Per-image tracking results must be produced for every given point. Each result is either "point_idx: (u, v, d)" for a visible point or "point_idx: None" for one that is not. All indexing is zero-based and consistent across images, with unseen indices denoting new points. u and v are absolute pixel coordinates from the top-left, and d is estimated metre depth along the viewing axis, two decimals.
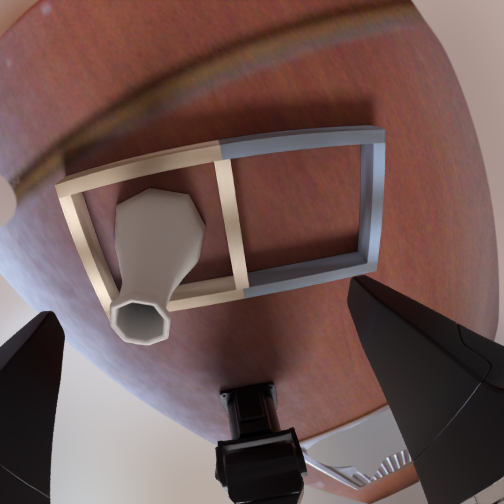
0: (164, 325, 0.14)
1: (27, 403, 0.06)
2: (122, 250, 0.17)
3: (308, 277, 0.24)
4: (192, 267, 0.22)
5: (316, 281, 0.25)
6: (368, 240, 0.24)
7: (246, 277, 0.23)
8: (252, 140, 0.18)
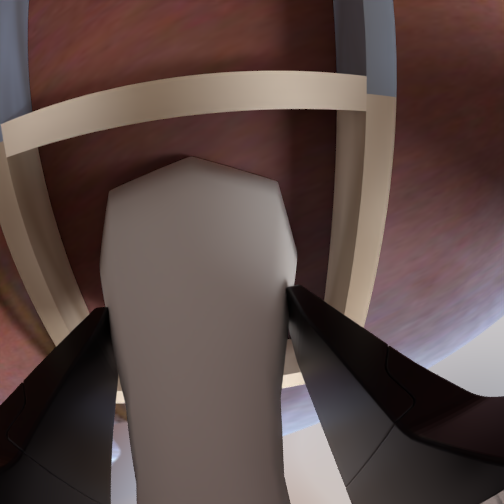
0: None
1: (88, 408, 0.06)
2: None
3: None
4: (274, 213, 0.08)
5: None
6: None
7: (333, 76, 0.07)
8: None
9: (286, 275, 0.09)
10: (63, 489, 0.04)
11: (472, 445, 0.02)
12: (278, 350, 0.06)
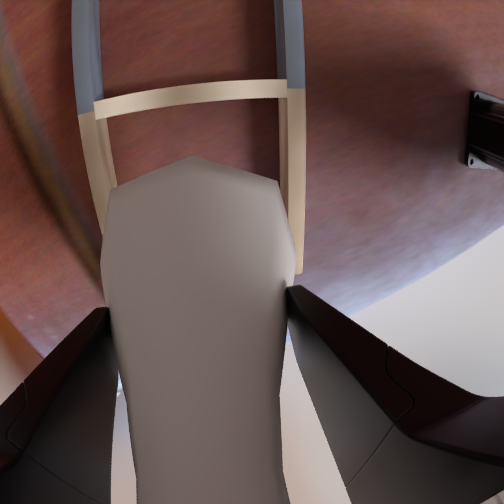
0: None
1: (88, 408, 0.06)
2: None
3: None
4: (273, 212, 0.09)
5: None
6: None
7: (268, 81, 0.14)
8: (75, 79, 0.12)
9: (285, 273, 0.09)
10: (64, 489, 0.04)
11: (472, 446, 0.02)
12: (277, 347, 0.07)
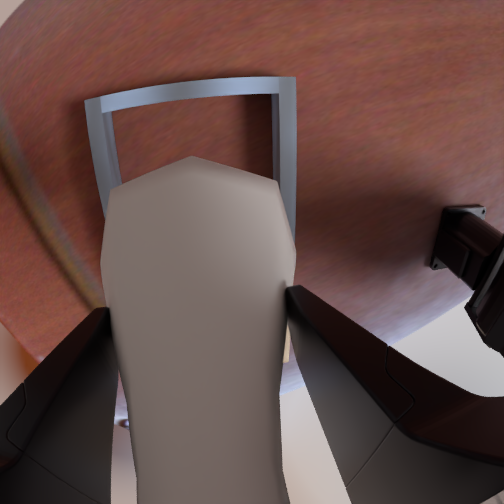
0: None
1: (88, 408, 0.06)
2: None
3: (282, 179, 0.18)
4: (273, 212, 0.09)
5: (291, 168, 0.18)
6: None
7: None
8: None
9: (285, 273, 0.09)
10: (63, 489, 0.04)
11: (472, 445, 0.02)
12: (277, 347, 0.07)
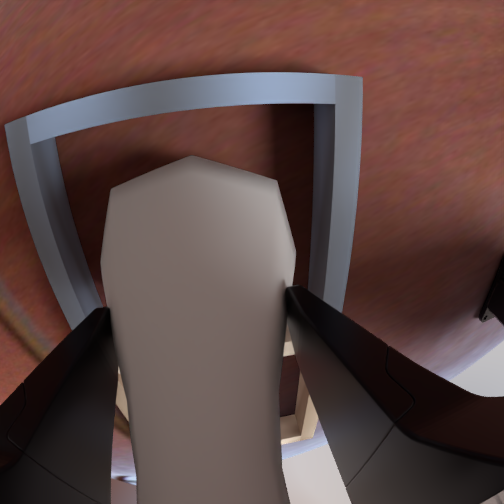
0: None
1: (88, 408, 0.06)
2: None
3: (332, 246, 0.11)
4: (273, 211, 0.09)
5: (347, 229, 0.11)
6: None
7: None
8: None
9: (285, 272, 0.09)
10: (63, 489, 0.04)
11: (472, 446, 0.02)
12: (276, 345, 0.07)
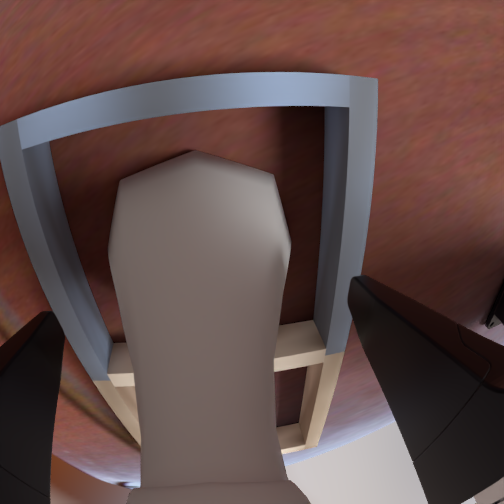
0: None
1: (27, 403, 0.06)
2: None
3: (343, 258, 0.11)
4: (269, 201, 0.09)
5: (359, 240, 0.10)
6: None
7: (305, 354, 0.13)
8: (76, 350, 0.11)
9: (280, 257, 0.10)
10: None
11: None
12: (272, 319, 0.07)
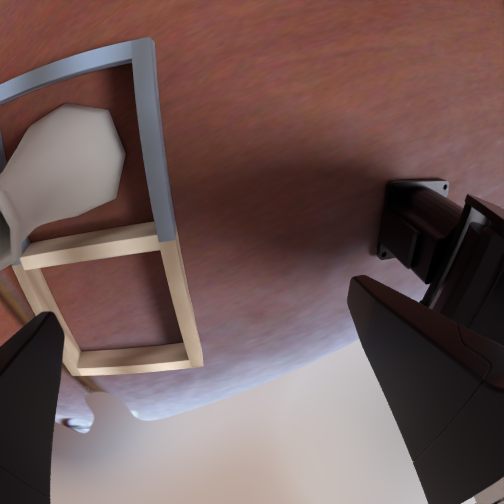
0: None
1: (27, 403, 0.06)
2: None
3: (145, 154, 0.15)
4: (93, 121, 0.13)
5: (154, 140, 0.15)
6: (94, 67, 0.12)
7: (141, 238, 0.17)
8: None
9: (95, 151, 0.14)
10: None
11: None
12: (65, 170, 0.11)
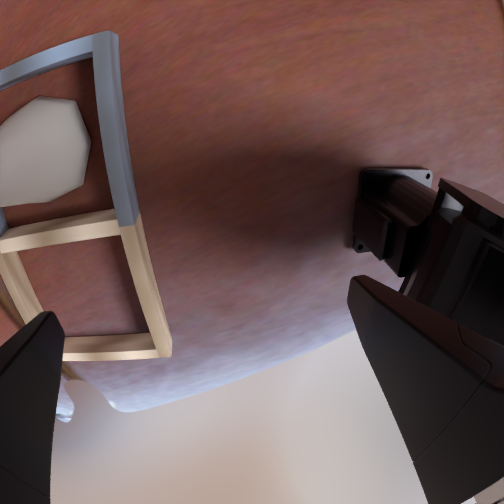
0: None
1: (27, 403, 0.06)
2: None
3: (104, 140, 0.15)
4: (58, 111, 0.13)
5: (112, 127, 0.14)
6: (60, 61, 0.12)
7: (102, 223, 0.17)
8: None
9: (58, 138, 0.13)
10: None
11: None
12: (26, 155, 0.11)
